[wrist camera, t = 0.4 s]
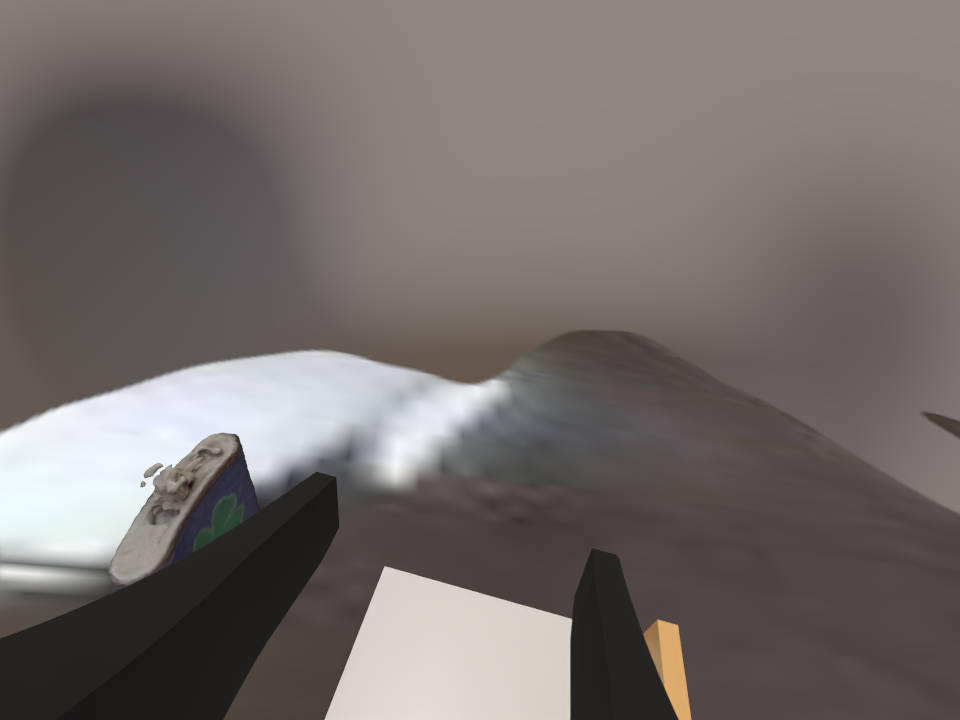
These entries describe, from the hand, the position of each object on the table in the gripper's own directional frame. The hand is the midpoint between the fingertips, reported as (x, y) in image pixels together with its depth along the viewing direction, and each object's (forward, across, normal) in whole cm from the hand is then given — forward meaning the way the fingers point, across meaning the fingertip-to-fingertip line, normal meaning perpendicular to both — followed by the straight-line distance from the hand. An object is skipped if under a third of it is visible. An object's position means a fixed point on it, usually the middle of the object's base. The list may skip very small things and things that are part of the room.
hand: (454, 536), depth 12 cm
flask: (+6, +16, +18) cm, 25 cm away
